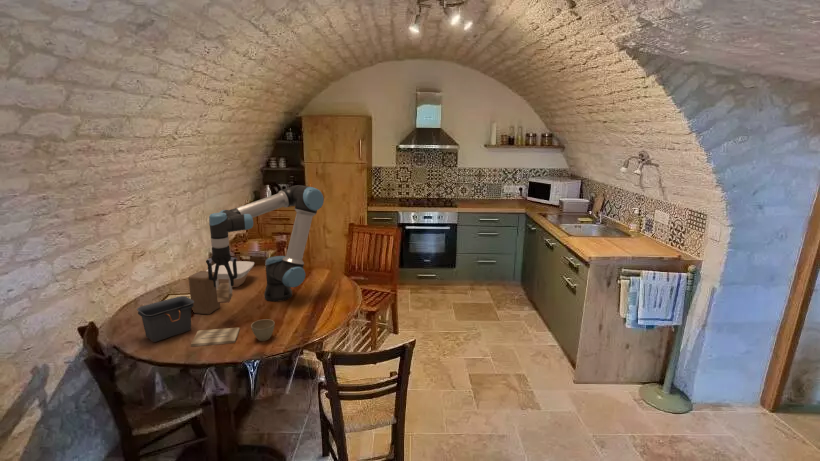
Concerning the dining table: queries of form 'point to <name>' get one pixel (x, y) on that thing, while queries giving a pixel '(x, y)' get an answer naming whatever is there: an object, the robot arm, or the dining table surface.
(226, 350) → the dining table surface
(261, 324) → the flower pot
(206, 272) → the wooden block
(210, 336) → the board
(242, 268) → the bowl
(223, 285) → the block
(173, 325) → the storage bin
